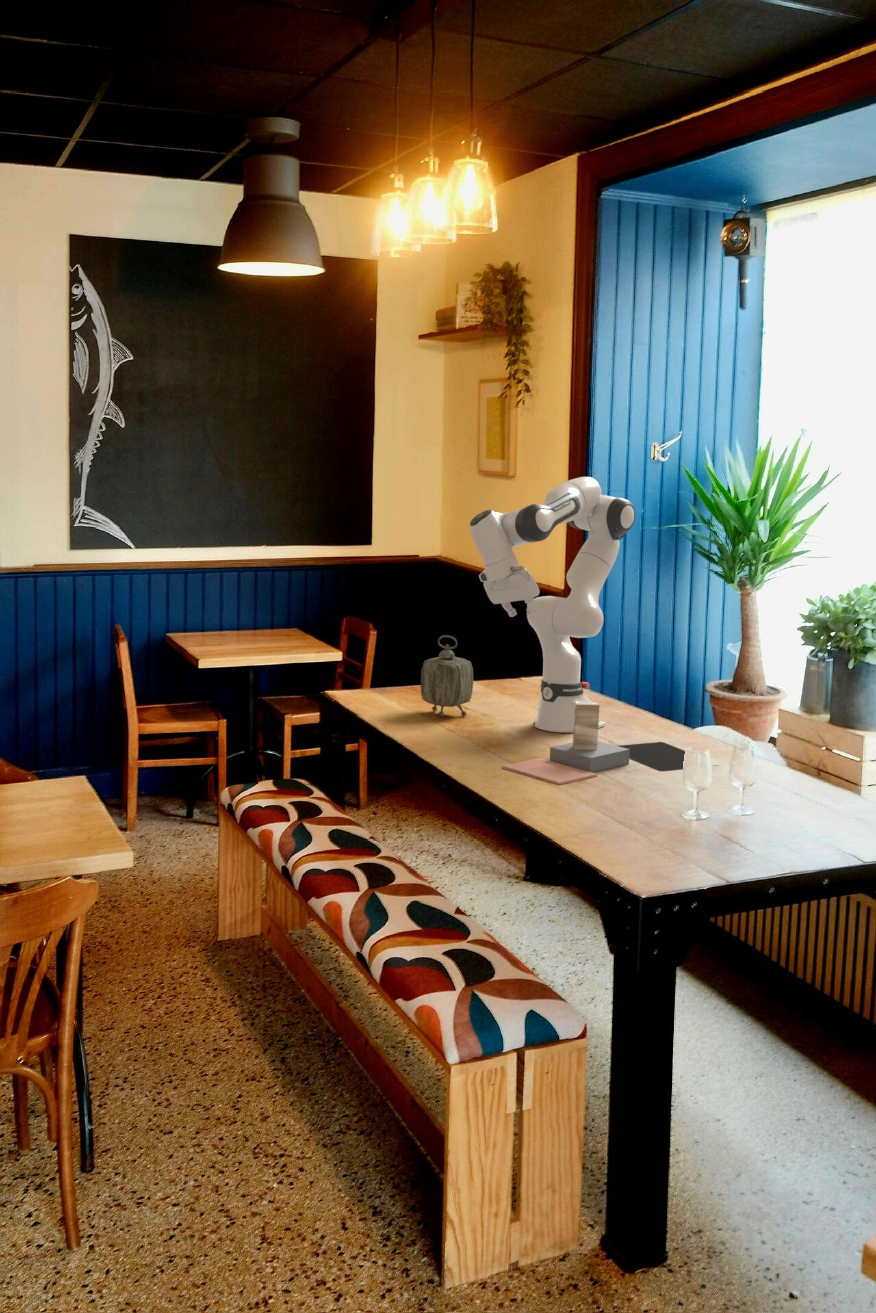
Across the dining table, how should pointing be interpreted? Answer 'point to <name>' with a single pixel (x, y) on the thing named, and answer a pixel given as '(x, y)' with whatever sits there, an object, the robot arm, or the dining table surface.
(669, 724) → the dining table surface
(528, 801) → the dining table surface
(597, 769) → the block
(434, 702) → the tabletop clock
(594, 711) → the birch plaque
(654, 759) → the tablet
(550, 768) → the terracotta mat
